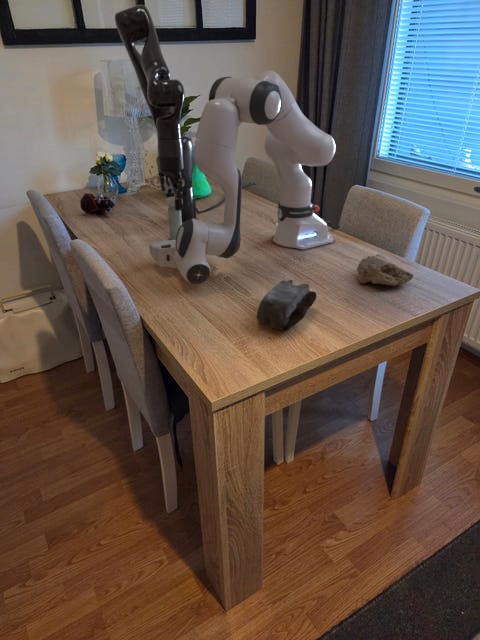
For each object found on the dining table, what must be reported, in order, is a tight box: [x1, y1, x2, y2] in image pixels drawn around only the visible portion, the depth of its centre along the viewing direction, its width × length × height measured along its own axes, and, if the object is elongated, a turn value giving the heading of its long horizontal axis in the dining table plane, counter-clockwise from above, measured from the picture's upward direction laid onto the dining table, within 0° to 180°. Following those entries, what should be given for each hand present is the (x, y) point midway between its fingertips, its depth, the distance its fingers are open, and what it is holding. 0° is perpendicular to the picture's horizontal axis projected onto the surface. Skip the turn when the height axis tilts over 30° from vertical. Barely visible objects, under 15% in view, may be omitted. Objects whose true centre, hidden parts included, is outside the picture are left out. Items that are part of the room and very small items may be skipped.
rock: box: [256, 279, 317, 332], centre depth 117 cm, size 18×11×8 cm, turn 152°
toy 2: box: [189, 137, 212, 200], centre depth 210 cm, size 20×20×25 cm
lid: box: [165, 197, 183, 207], centre depth 144 cm, size 5×5×2 cm
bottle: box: [167, 206, 182, 240], centre depth 149 cm, size 4×4×18 cm
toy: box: [79, 192, 117, 218], centre depth 189 cm, size 12×9×15 cm
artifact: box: [356, 254, 414, 286], centre depth 138 cm, size 18×7×15 cm
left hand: (174, 207), depth 145 cm, fingers closed on lid, 5 cm apart
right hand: (175, 238), depth 151 cm, fingers closed on bottle, 4 cm apart
